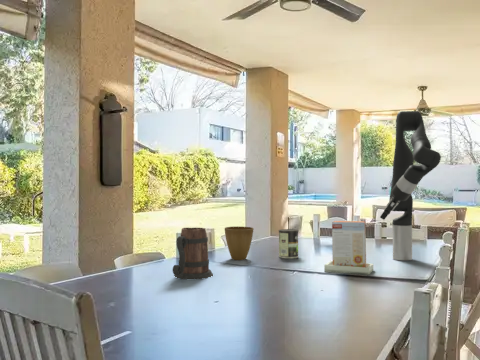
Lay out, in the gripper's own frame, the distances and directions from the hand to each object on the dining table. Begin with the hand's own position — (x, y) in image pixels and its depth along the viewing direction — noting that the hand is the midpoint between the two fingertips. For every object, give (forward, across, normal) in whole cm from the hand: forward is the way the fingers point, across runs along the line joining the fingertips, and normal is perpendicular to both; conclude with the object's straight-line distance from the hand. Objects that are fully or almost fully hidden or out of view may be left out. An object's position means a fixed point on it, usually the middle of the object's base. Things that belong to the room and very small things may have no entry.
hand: (384, 214), depth 207 cm
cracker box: (+22, +20, +1) cm, 29 cm away
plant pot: (+58, +17, -45) cm, 76 cm away
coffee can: (+52, 0, -26) cm, 58 cm away
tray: (+22, +20, +2) cm, 30 cm away
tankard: (+43, +63, -49) cm, 90 cm away
